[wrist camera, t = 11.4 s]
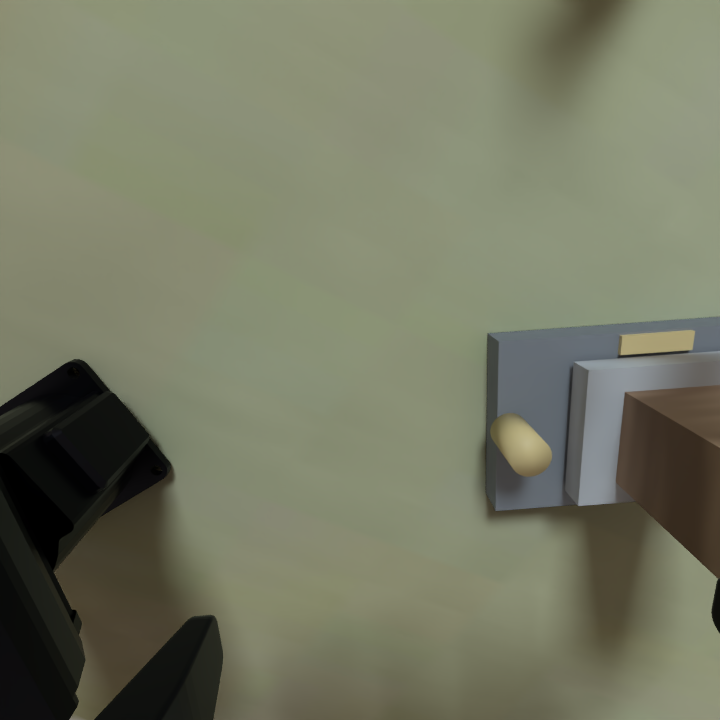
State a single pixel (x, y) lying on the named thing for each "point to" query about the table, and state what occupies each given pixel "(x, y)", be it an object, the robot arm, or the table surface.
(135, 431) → the robot arm
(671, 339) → the tensioner track
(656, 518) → the brown wooden block
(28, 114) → the table surface
